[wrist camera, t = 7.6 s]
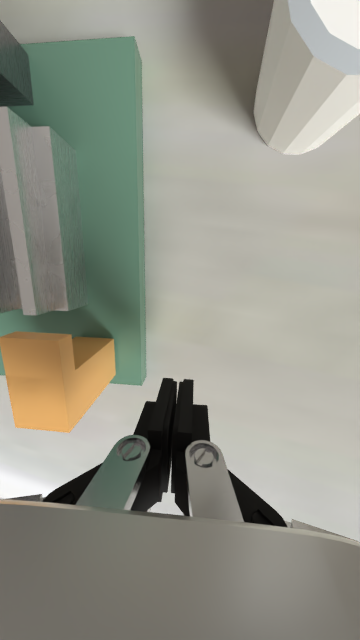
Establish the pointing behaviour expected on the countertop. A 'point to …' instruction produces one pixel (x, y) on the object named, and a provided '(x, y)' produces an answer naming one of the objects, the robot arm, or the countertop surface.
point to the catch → (55, 377)
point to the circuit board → (97, 188)
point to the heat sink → (36, 202)
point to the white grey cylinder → (308, 73)
